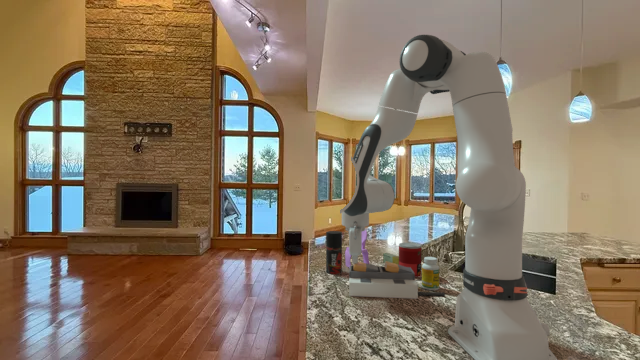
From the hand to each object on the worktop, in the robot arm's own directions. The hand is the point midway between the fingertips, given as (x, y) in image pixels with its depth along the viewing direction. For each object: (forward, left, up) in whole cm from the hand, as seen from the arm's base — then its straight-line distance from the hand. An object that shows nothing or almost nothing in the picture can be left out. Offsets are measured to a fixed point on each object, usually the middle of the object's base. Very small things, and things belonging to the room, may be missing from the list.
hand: (354, 262), depth 102 cm
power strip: (-2, -12, -8) cm, 15 cm away
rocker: (0, -3, -3) cm, 4 cm away
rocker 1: (0, -13, -3) cm, 14 cm away
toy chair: (+24, -1, -8) cm, 25 cm away
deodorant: (+16, +8, -8) cm, 20 cm away
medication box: (+28, -16, -8) cm, 34 cm away
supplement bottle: (+2, -24, -8) cm, 26 cm away
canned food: (+16, -20, -8) cm, 27 cm away
